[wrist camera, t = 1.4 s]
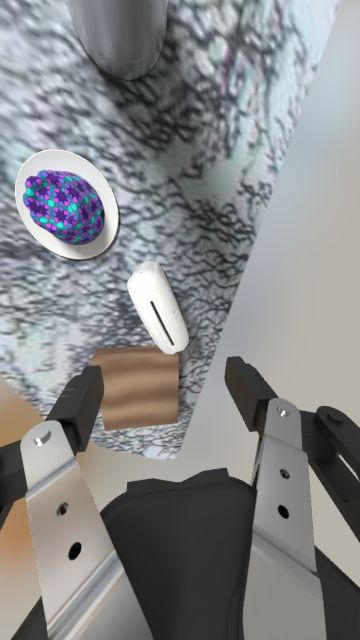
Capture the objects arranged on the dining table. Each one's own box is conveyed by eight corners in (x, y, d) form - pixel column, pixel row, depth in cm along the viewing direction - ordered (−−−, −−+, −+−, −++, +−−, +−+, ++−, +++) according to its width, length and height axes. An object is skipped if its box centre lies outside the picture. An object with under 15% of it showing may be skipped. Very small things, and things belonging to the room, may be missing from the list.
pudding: (20, 244, 25) (-11, 245, 20) (17, 133, 20) (-24, 101, 16) (112, 268, 27) (103, 274, 23) (126, 175, 23) (119, 158, 18)
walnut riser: (97, 348, 32) (90, 362, 28) (176, 344, 34) (179, 356, 30) (109, 412, 38) (105, 430, 35) (175, 406, 40) (177, 422, 37)
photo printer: (131, 267, 27) (116, 286, 16) (157, 255, 27) (160, 266, 16) (159, 323, 32) (163, 368, 21) (182, 313, 32) (198, 354, 20)
